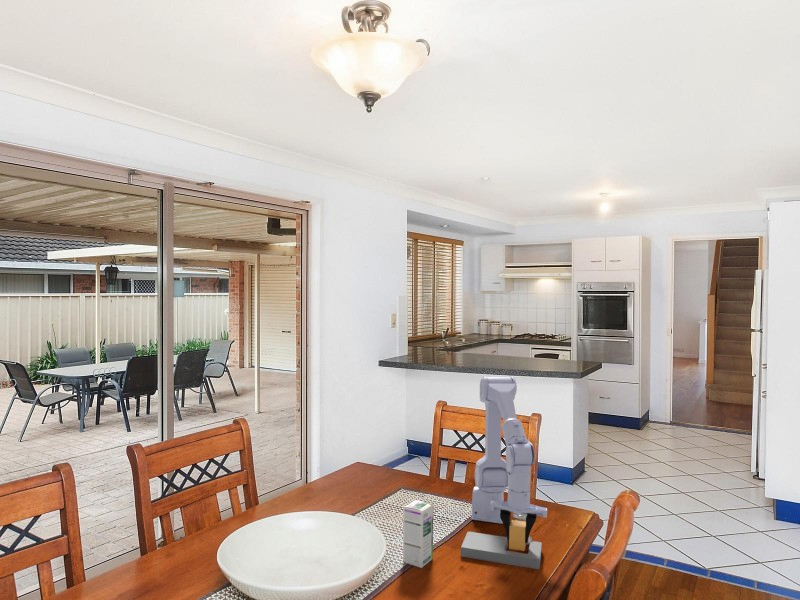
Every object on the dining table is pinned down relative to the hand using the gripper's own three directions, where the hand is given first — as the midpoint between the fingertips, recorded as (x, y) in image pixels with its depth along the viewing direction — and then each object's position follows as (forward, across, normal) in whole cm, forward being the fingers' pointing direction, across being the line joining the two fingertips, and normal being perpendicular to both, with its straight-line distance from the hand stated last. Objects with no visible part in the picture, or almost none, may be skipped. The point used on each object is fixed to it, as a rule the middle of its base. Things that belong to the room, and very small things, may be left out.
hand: (517, 540), depth 149 cm
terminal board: (+4, -4, 0) cm, 6 cm away
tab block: (+2, 0, 0) cm, 2 cm away
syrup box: (+4, -24, -12) cm, 27 cm away
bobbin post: (+4, 0, +10) cm, 10 cm away
